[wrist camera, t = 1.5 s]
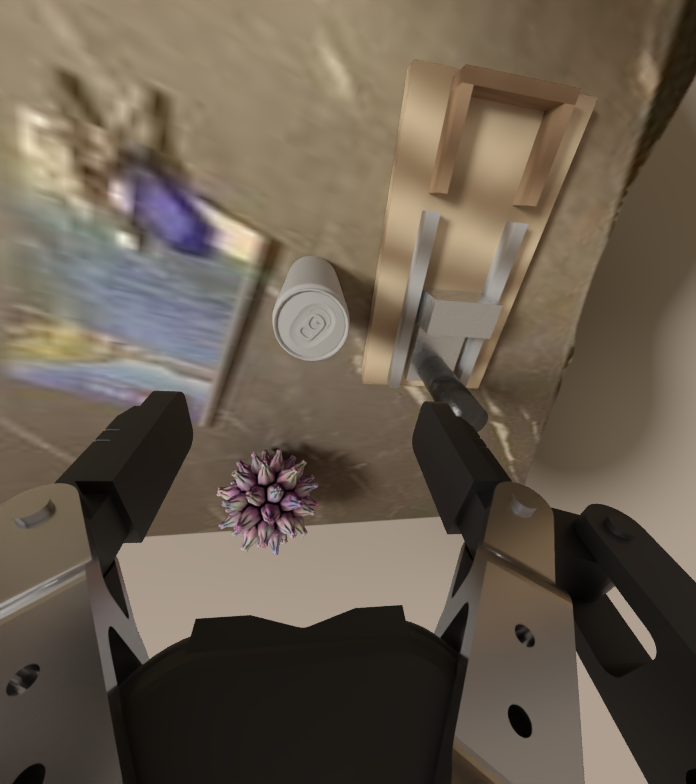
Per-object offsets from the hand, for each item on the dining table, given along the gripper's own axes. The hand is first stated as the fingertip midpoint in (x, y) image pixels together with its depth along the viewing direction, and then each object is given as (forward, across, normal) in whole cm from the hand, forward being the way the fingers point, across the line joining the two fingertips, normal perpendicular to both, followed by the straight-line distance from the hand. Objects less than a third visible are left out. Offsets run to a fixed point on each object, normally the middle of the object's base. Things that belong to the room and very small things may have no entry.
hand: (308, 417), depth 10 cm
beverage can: (+21, 0, 0) cm, 21 cm away
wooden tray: (+21, -13, -3) cm, 25 cm away
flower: (+21, +4, +24) cm, 32 cm away
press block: (+19, -13, +4) cm, 23 cm away
